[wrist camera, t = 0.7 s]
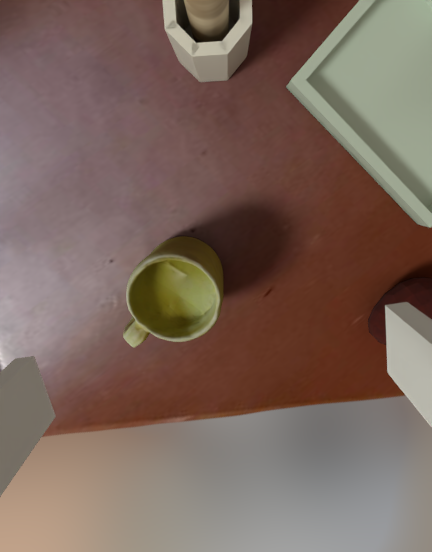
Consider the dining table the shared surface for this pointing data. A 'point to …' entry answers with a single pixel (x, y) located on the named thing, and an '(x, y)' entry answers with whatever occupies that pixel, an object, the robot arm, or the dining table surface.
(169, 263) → the mug
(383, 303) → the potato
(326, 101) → the tray
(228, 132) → the dining table surface
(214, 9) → the dowel
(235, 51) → the crock
